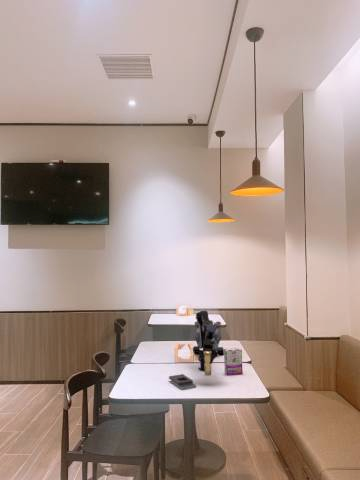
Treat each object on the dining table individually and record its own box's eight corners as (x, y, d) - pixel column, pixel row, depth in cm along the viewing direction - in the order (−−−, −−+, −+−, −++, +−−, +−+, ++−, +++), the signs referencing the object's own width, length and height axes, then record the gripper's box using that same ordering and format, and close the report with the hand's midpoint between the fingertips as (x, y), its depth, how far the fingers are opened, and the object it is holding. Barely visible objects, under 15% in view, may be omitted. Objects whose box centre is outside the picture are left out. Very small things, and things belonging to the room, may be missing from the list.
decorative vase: (193, 358, 276) (193, 322, 279) (195, 353, 295) (195, 318, 297) (221, 359, 274) (220, 322, 276) (221, 354, 292) (221, 319, 294)
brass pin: (202, 374, 217) (202, 350, 218) (209, 373, 219) (208, 349, 220) (206, 376, 213) (205, 352, 214) (213, 375, 215) (212, 351, 216)
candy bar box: (240, 372, 241) (239, 347, 242) (242, 374, 236) (242, 349, 237) (224, 373, 239) (223, 348, 240) (226, 375, 234) (226, 350, 235)
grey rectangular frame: (169, 381, 225) (169, 376, 225) (182, 378, 229) (182, 374, 229) (181, 390, 208) (181, 385, 208) (196, 387, 212) (196, 382, 212)
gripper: (193, 333, 224) (190, 355, 212) (223, 333, 220) (221, 356, 208) (195, 343, 231) (192, 365, 219) (224, 344, 227) (223, 366, 215)
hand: (207, 363), depth 215 cm, fingers closed on brass pin, 4 cm apart
